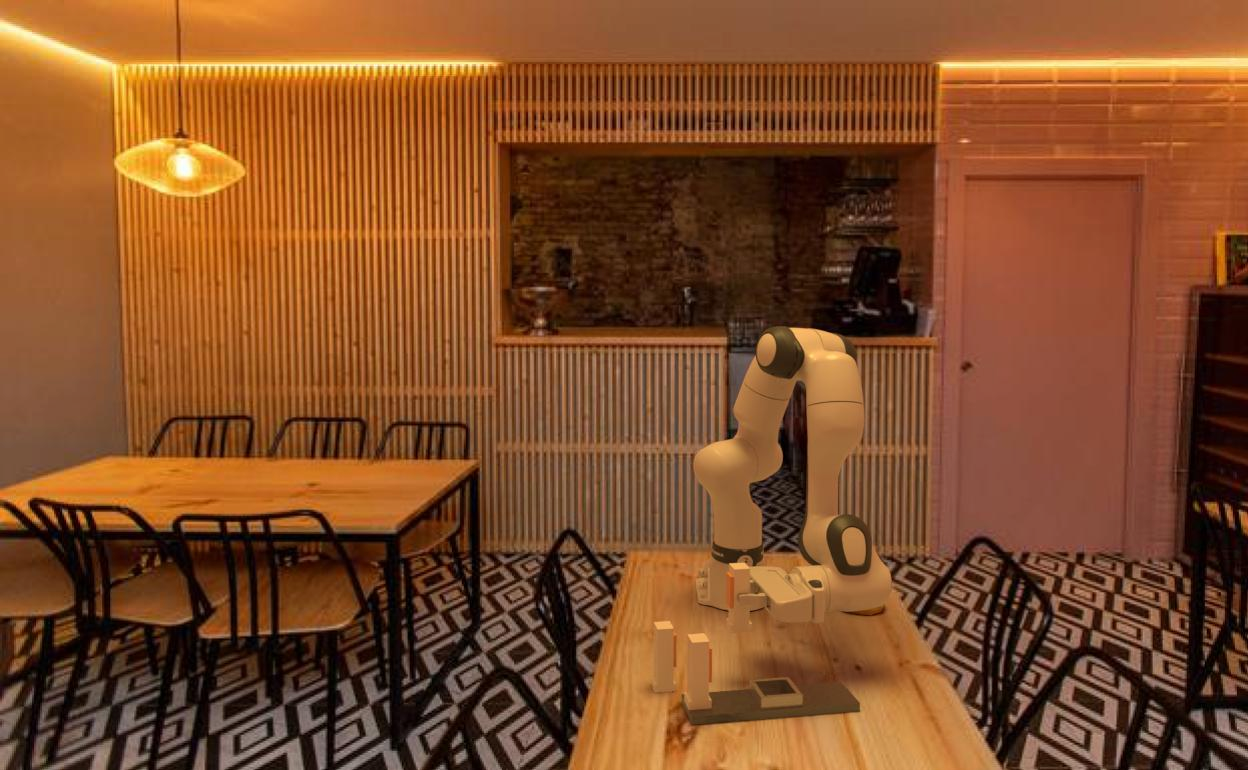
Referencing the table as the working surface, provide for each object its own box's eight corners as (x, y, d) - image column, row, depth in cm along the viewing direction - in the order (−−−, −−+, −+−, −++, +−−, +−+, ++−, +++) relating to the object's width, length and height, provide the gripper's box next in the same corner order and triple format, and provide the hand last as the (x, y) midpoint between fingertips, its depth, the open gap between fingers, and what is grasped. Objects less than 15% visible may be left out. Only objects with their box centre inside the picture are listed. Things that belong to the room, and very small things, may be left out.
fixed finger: (684, 700, 146) (684, 634, 145) (706, 698, 147) (707, 633, 145) (688, 710, 143) (689, 642, 141) (712, 708, 143) (712, 641, 142)
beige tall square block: (725, 625, 157) (725, 563, 155) (746, 624, 157) (747, 562, 156) (730, 633, 153) (731, 569, 152) (752, 631, 154) (752, 568, 152)
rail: (681, 702, 148) (681, 683, 148) (840, 689, 153) (841, 671, 153) (691, 725, 141) (692, 705, 140) (859, 711, 145) (860, 692, 145)
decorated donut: (843, 617, 188) (843, 600, 187) (827, 599, 199) (828, 582, 199) (892, 616, 188) (893, 598, 188) (874, 597, 200) (874, 581, 199)
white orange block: (651, 684, 155) (651, 622, 154) (672, 682, 156) (672, 620, 155) (654, 693, 152) (654, 629, 151) (676, 691, 153) (677, 628, 151)
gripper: (787, 556, 166) (719, 560, 164) (827, 592, 146) (751, 597, 144) (786, 587, 167) (719, 591, 165) (826, 627, 147) (751, 632, 145)
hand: (734, 594), depth 154 cm, fingers closed on beige tall square block, 3 cm apart
